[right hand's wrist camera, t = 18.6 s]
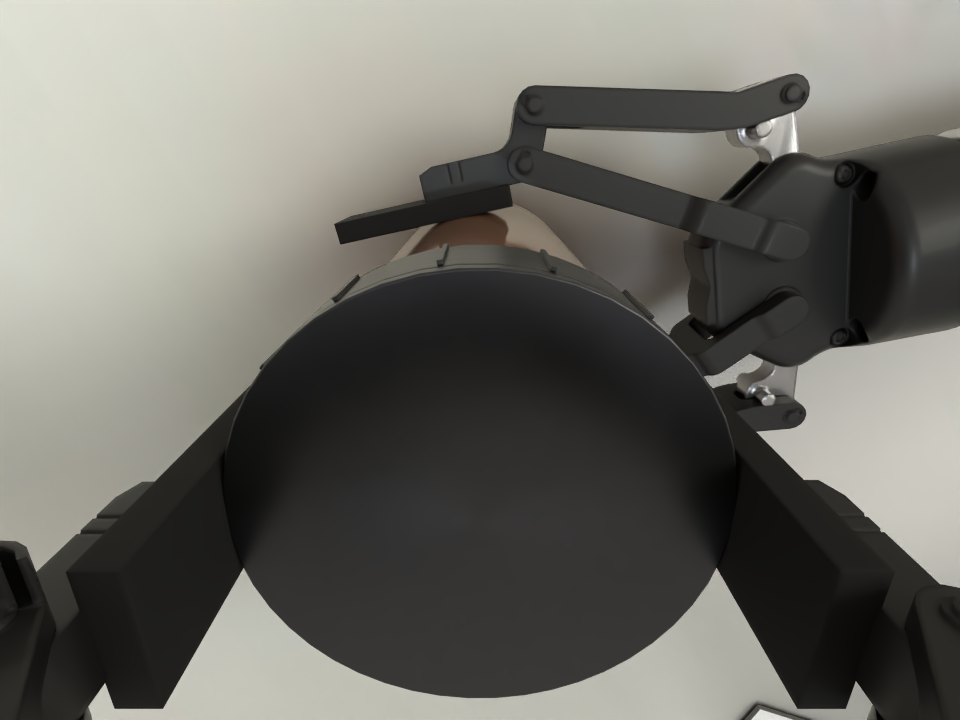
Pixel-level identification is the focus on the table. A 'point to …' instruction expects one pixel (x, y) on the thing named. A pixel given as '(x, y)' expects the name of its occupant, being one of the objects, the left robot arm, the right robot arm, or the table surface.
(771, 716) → the tablet
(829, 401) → the table surface
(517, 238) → the jar
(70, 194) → the table surface
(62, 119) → the table surface
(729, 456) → the lid
